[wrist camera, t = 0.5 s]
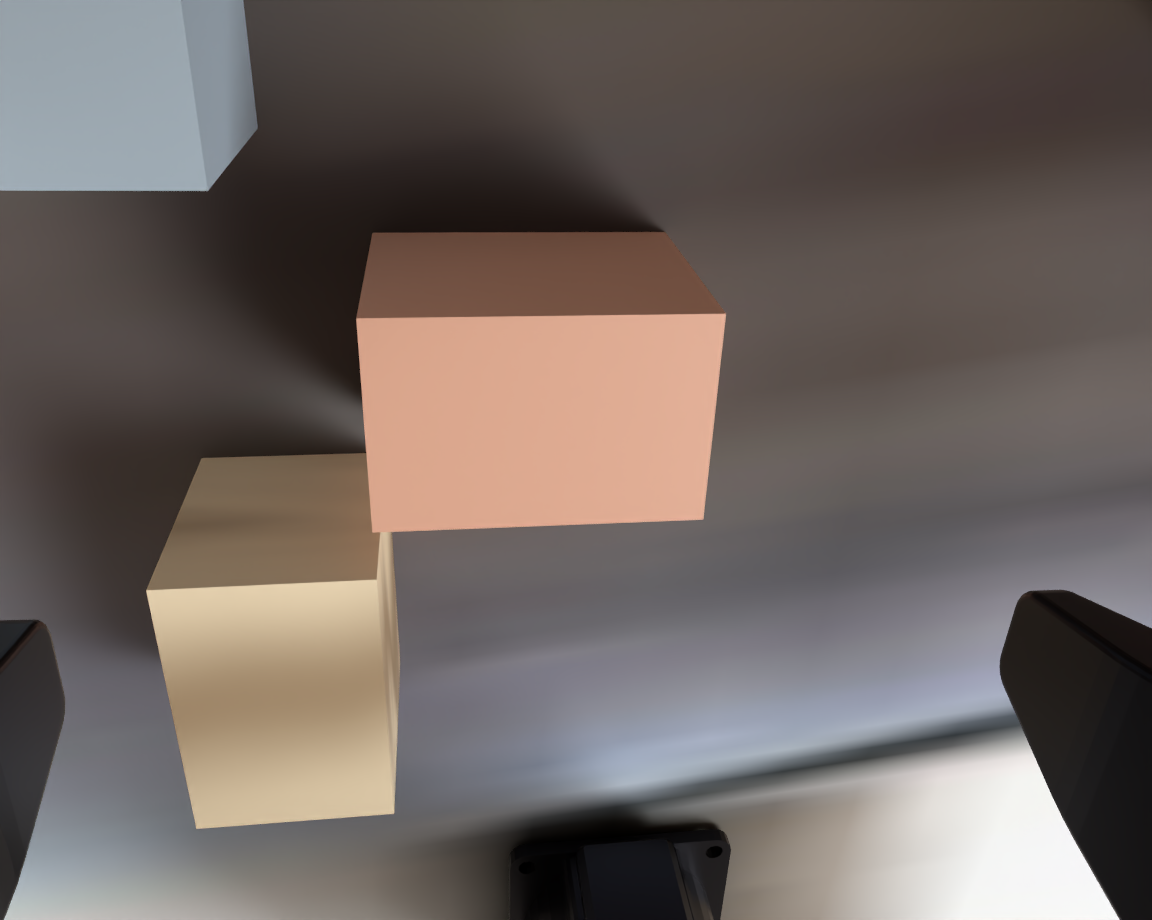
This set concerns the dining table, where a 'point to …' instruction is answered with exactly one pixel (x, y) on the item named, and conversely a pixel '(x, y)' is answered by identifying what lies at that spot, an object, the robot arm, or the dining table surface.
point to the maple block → (280, 641)
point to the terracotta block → (535, 379)
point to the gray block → (122, 94)
